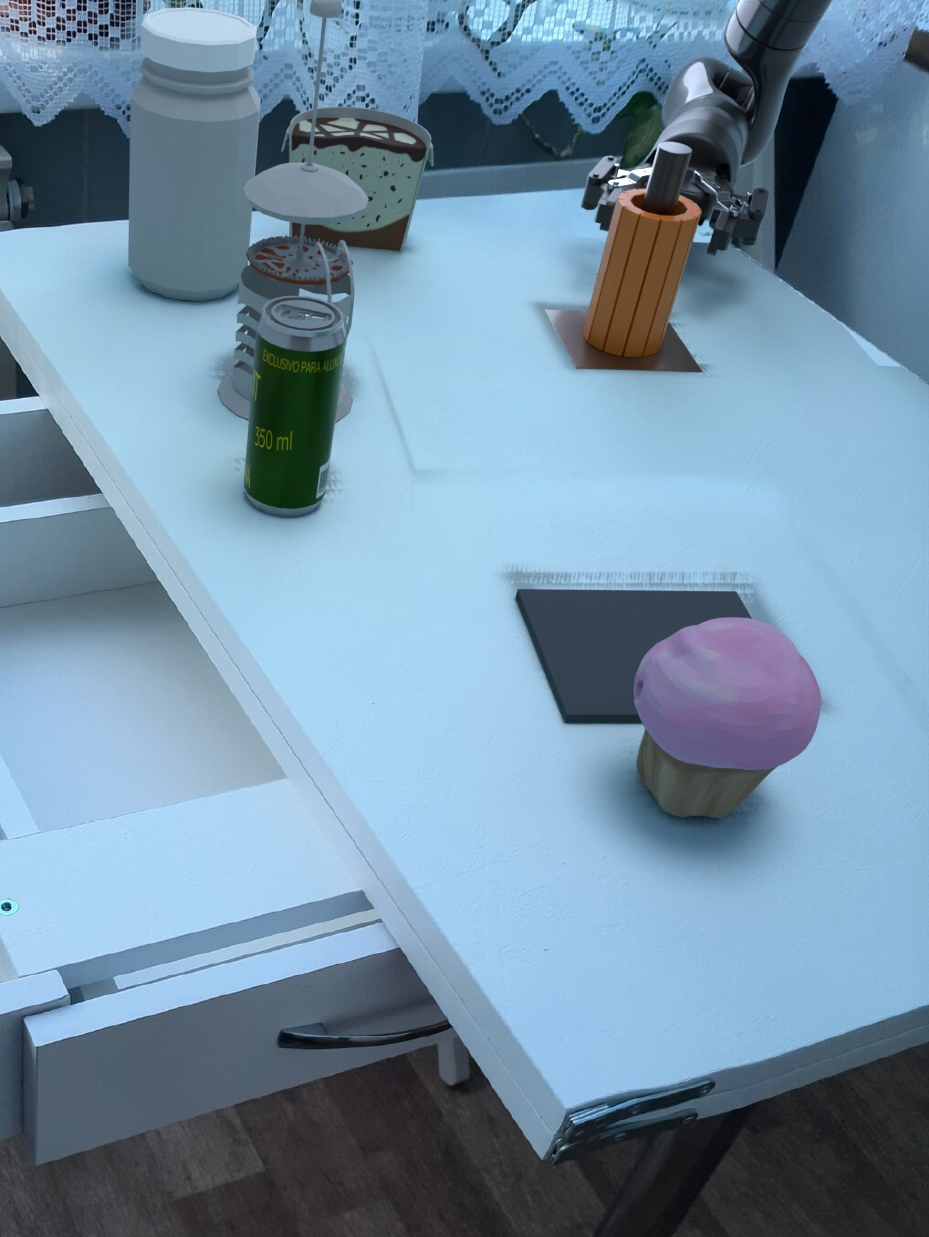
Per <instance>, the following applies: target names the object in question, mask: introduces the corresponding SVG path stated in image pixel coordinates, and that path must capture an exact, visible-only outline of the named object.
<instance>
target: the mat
mask: <svg viewBox="0 0 929 1237" xmlns="http://www.w3.org/2000/svg"><path fill="white" fill-rule="evenodd" d="M515 599H516V602H517V604H518V607H519V609H520V612H521V614H522V617H523V620H524V622H525V625H526V627H527V629H528V632H529V635H530V637H531V640H532V642H533V645H534V647H535V649H536V652H537V655H538V658H539V660H540V663H541V665H542V668H543V671H544V673H545V676H546V678H547V680H548V683H549V686H550V688H551V691H552V693H553V696H554V699H555V702H556V704H557V705H558V709H559V711H560V714H561V716H562V719H563V722H564V723H567V724H569V723H570V724H574V723H575V724H576V723H577V724H579V723H580V724H581V723H582V724H584V723H585V724H587V723H588V724H590V723H592V724H593V723H594V724H596V723H597V724H598V723H599V724H600V723H601V724H602V723H603V724H604V723H611V724H612V723H615V724H617V723H620V724H622V723H623V724H625V723H630V724H631V723H635V724H636V723H637V724H639V723H640V724H641V723H642V721H641V719H640V717H639V714H638V712H637V709H636V707H635V704H634V680H635V676H636V673H637V670H638V668H639V666H640V663H641V661H642V659H643V657H644V656H645V655H646V654H647V652H648V651H649V650H650V649H651V648H653V647H654V646H655V645H656V644H657V643H659V642H660V641H662V640H664V639H667V638H668V637H670V636H671V635H673V634H675V633H676V632H678V631H679V630H681V629H683V628H685V627H689V626H693V625H699V624H701V623H703V622H706V621H708V620H711V619H717V618H727V617H734V618H750V619H753V618H752V616H751V614H750V613H749V611H748V609H747V607H746V605H745V603H744V601H743V600H742V599H741V597H740V595H739V594H738V591H736V590H664V589H663V590H657V589H655V590H654V589H651V590H649V589H647V590H646V589H645V590H644V589H567V588H566V589H564V588H563V589H561V588H560V589H559V588H557V589H556V588H555V589H552V588H517V590H516V594H515ZM642 724H643V723H642Z"/></svg>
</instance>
